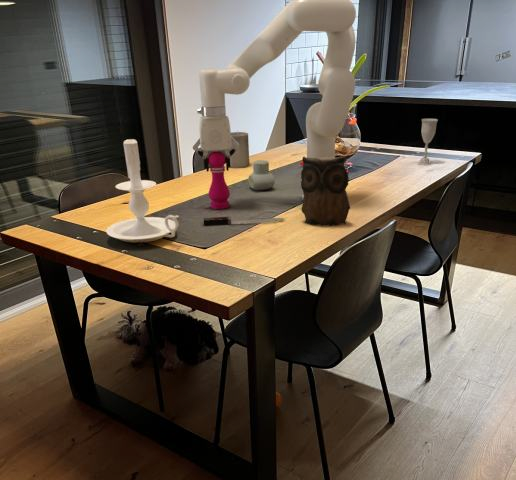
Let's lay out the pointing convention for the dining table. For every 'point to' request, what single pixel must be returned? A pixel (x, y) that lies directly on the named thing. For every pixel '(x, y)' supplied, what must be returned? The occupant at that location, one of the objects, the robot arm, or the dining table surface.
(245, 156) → the pillar candle
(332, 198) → the owl
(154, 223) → the candlestick
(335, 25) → the robot arm
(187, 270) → the dining table surface
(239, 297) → the dining table surface
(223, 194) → the pepper mill
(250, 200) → the dining table surface
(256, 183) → the air freshener
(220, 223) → the knife
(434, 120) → the chalice
